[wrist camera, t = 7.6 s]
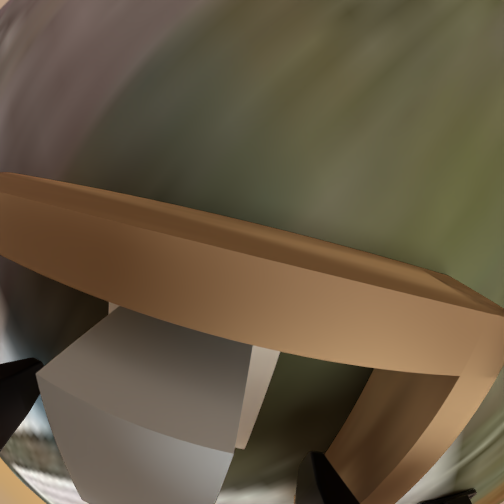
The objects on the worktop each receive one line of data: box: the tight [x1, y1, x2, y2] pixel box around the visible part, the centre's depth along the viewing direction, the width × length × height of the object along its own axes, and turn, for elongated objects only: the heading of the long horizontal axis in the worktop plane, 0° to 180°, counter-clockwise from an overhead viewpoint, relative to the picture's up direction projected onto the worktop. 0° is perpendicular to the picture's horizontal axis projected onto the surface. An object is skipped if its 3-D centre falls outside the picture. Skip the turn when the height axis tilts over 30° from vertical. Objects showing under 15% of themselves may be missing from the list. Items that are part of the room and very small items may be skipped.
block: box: [36, 306, 253, 504], centre depth 7 cm, size 4×6×5 cm, turn 167°
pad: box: [108, 302, 280, 449], centre depth 10 cm, size 6×6×1 cm
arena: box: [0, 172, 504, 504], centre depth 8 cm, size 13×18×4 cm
